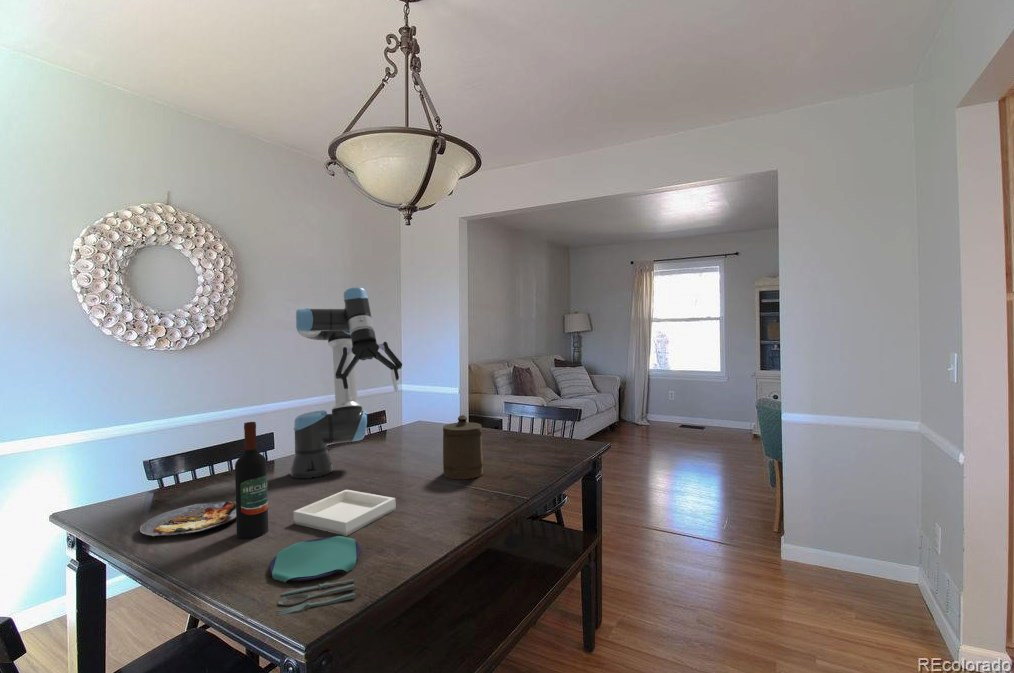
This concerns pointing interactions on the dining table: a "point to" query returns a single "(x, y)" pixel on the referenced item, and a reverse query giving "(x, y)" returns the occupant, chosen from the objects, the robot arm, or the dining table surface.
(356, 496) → the tray
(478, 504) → the dining table surface
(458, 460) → the wooden container
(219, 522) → the food plate
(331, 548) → the cutlery set
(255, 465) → the wine bottle
